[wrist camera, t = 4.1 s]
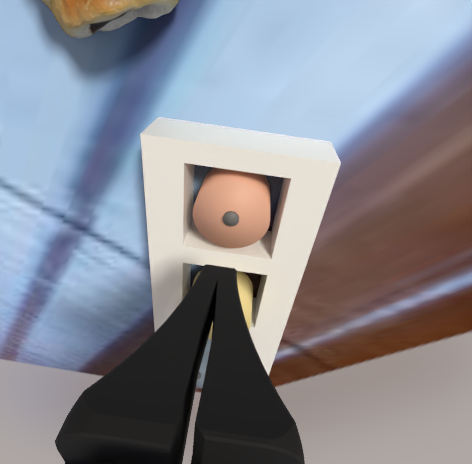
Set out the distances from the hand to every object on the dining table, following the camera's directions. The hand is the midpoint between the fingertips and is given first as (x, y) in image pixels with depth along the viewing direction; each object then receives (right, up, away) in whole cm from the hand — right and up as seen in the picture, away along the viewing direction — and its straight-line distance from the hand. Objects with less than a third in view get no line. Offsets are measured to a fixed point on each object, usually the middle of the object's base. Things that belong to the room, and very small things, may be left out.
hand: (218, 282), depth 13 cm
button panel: (0, -1, +11) cm, 11 cm away
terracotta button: (+1, +5, +7) cm, 8 cm away
